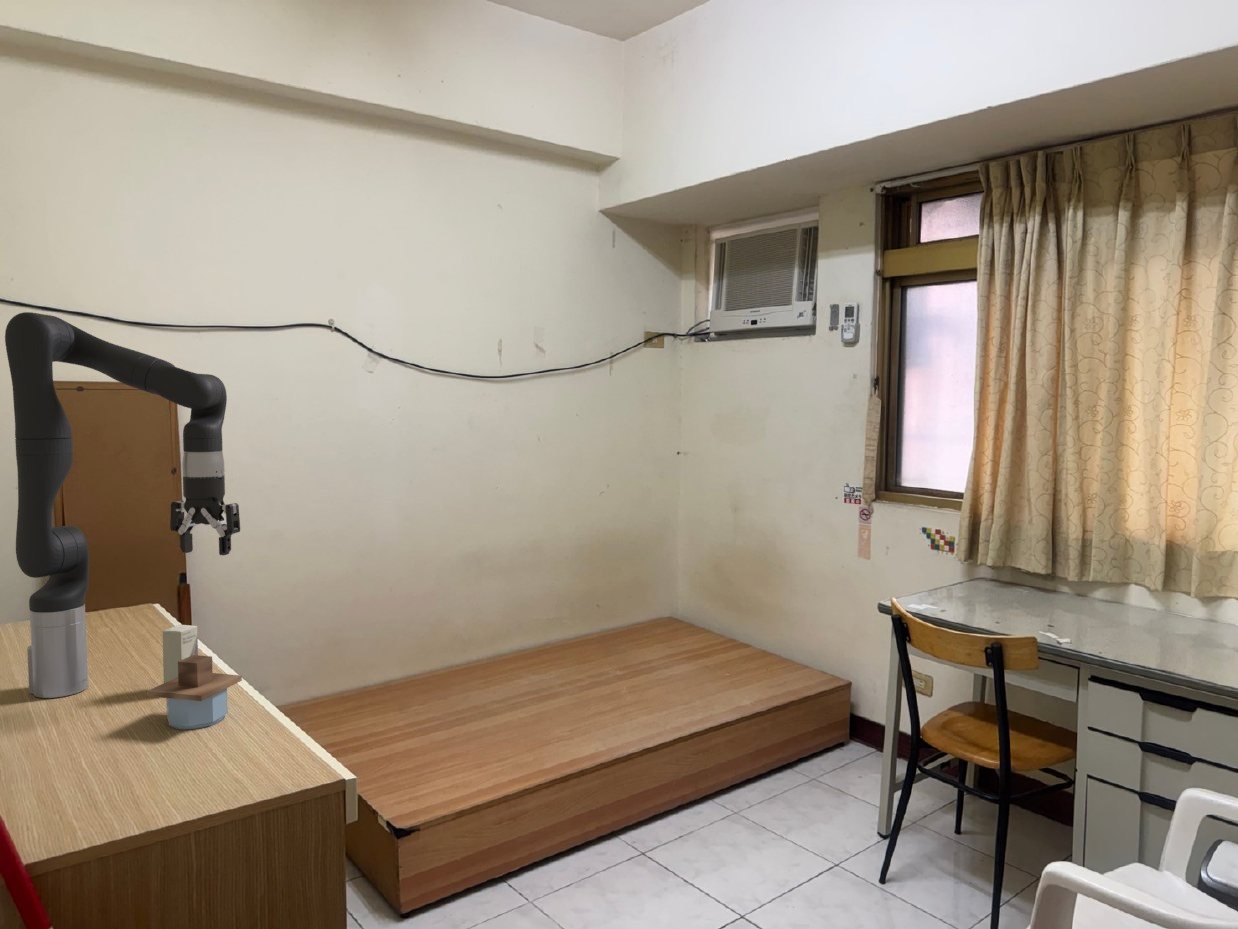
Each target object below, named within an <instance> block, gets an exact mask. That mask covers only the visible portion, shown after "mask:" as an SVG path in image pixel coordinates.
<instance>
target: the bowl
mask: <svg viewBox="0 0 1238 929" xmlns="http://www.w3.org/2000/svg"><path fill="white" fill-rule="evenodd" d="M165 699H166V718H167V721H168V725H169V726H170V728H172V729H176V730H181V731H182V730H186V731H187V730H197V729H204V728H206V727H210V726H214V725H216V724H218V723H220V722H222V721H223V720H224V719H225V718H226V715H228V713H229V712H228V707H229V706H228V688H226V689H224V690H222V691H221V692H219V693H217V694H215V695H213V696H211V697H209V698H207V699H205V700H203V701H194V700H183V699H172V698H165ZM224 717H225V718H224Z"/></svg>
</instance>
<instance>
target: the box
mask: <svg viewBox="0 0 1238 929" xmlns="http://www.w3.org/2000/svg"><path fill="white" fill-rule="evenodd" d="M198 643H199V642H198V625H189V624H178V625H176V626H172V627H169V628H166V629H164V630H162V656H163V657H162V658H163V659H162V660H163V661H162V662H163V683H166V682H168V681H170V680H172V679H174V678H177V677H178V661H180V660H183V659H185V658H187V657H190V656H192V655H199V648H198V647H199V644H198Z"/></svg>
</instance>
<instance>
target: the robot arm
mask: <svg viewBox="0 0 1238 929" xmlns="http://www.w3.org/2000/svg"><path fill="white" fill-rule="evenodd" d="M4 332H5V333H4V343H5V350H6V351H5V352H6V355H7V360H8V367H9V372H10V378H11V385H12V396H13V413H14V429H15V430H14V438H15V439H14V440H15V441H14V442H15V443H14V444H15V458H16V466H17V467H16V468H17V490H18V491H17V493H18V494H17V502H18V503H17V518H16V529H15V530H16V533H15V534H16V535H15V555H16V561H17V565H18V566H19V568H20V570H21V572H22V573H23V574H24V575H26V576H28V577H29V578H33V579H35V578H36V579H37V578H39V579H40V578H44V577H48V580H47V581H46V582H45V583H44V585H43V586H41V587H40V588H39V589H38V590H36V591H35V592H34V593H31V595H30V596H29V599H28V600H29V601H28V607H29V622H30V645H29V646H28V647H27V649H26V650H27V655H26V656H27V671H28V672H27V673H28V691H29V692H28V693H29V694H32V695H33V696H34V697H36V698H41V699H53V698H61V697H62V698H63V697H66V696H71V695H72V696H73V695H75V694H77V693H80V692H83V691H85V690H86V689H87V688H89V671H88V647H87V646H88V644H87V642H88V641H87V620H86V594H87V593H88V590H89V577H90V575H89V574H90V573H89V572H90V551H89V549H90V548H89V543H88V540H87V538H86V536H85V534H84V532H83V531H82V530H81V529H80V528H78V527H77V526H73V525H62V526H56V527H53V525H52V524H53V521H52V520H53V519H52V518H53V509H54V504H55V500H56V497H57V496H58V494H59V492H60V490H61V488H62V486H63V484H64V482H66V479H67V477H68V475H69V473H70V471H71V468H72V466H73V462H74V445H73V433H72V432H73V431H72V426H71V422H70V421H69V418H68V416H67V414H66V412H65V410H64V407H63V406H62V403H61V401H60V399H59V397H58V396H57V392H56V390H55V384H54V376H53V375H54V371H53V369H54V368H53V364H54V362H59V363H65V364H71V365H77V366H81V367H85V368H88V369H92V370H94V371H97V372H99V373H101V374H104V375H106V376H108V377H109V378H111V379H112V380H115V381H117V382H119V383H121V384H124V385H126V386H129V387H131V388H134V389H138V390H141V391H144V392H147V393H148V394H153V395H157V396H160V397H161V398H164V399H165V400H168V401H169V402H171V403H173V404H176V405H179V406H182V407H184V408H187V409H190V419H189V421H188V422H187V423H185V425H184V426H183V428H182V429H183V430H182V449H183V450H182V451H183V454H182V464H181V465H182V467H181V468H182V490H183V491H182V494H183V497H184V498H185V501H184V500H178V501H177V500H176V501H171V504H170V525H169V527H170V528H169V529H170V531H171V532H176V533H178V534H179V544H180V545H179V546H180V550H181V552H182V554H187V553H192V552H193V547H194V546H193V543H194V542H193V533H191V532H193V530H194V528H195V527H196V526H198V525H200V524H202V525H205V526H206V525H207V526H209V525H210V526H211V527H212V529H215V531H216V532H217V533H218V535H219V537H218V553H219V554H218V555H220V556H227V555H229V554H230V552H231V550H232V535H234V534H238V533H240V532H241V521H240V518H241V517H240V509H239V505H240V504H238V503H236V502H234V503H225V501H224V496H225V494H226V483H225V482H226V477H225V459H224V453H223V433H222V432H223V430H222V429H223V424H224V421H225V414H226V409H227V389H226V386H225V384H224V382H223V381H222V380H221V379H220V377H217V376H216V375H213V374H208V373H197V372H192V371H189V370H186V369H183V368H180V367H176V366H175V365H174V364H173V363H171V362H169V361H167V360H165V359H162V358H158V357H156V356H152V355H149V354H147V353H143V352H140V351H139V350H134V349H131V348H127V347H124V346H121V345H118V344H114V343H112V342H109V341H106V340H104V339H102V338H99V337H97V336H95V335H93V334H90V333H89V332H87V331H84V330H83V329H81V328H79V327H78V326H75V325H73V324H71V323H69V322H68V321H66V320H64V319H62V318H60V317H58V316H54V315H49V314H43V313H37V312H25V311H24V312H20V313H17V314H16V315H13V317H11V319H10V320H9V322H8V323H7V325H6V328H5V331H4ZM185 512H186V516H185ZM224 514H225V515H224Z"/></svg>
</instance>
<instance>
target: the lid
mask: <svg viewBox="0 0 1238 929" xmlns="http://www.w3.org/2000/svg"><path fill="white" fill-rule="evenodd" d="M242 676H243V675H241V674H231V673H230V674H228V673H217V672H213V656H210V655H199V654H198V655H192V656H190V657H187V658H185V659H183V660H180V661H178V677H177V678H174V679H172V680H170V681H168V682H166V683H164V682H163V683H161V684H159V685H157V686H155V687H153V688H151V689H149V690H147V697H151V698H163V699H166V698H172V699H183V700H194V701H203V700H205V699H207V698H209V697H211V696H213V695H215V694H217V693H219V692H221V691H222V690H224V689H226V688H227V689H228V688H230V687H232V686H235V685H236V684H238V683H241V682H242V681H243V679H242V678H243V677H242Z"/></svg>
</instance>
